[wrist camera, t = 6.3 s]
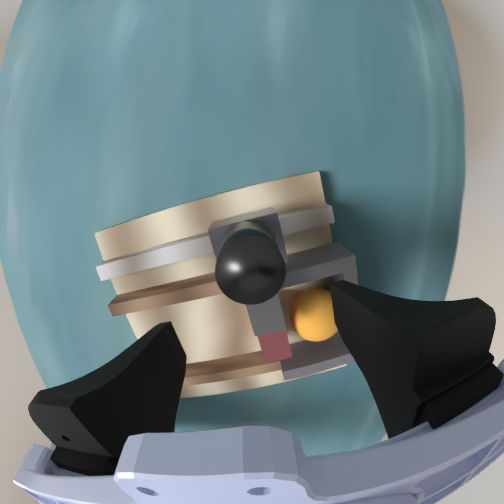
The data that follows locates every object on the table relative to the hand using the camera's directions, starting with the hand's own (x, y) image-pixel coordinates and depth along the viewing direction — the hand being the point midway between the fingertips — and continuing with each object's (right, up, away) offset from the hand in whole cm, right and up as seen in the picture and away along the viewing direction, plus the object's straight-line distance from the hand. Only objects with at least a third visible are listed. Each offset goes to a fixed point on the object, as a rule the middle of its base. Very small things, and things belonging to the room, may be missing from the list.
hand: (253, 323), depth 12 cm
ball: (+5, -2, +8) cm, 10 cm away
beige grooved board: (-2, -1, +11) cm, 11 cm away
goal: (+4, -1, +10) cm, 11 cm away
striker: (+1, +1, +9) cm, 9 cm away
